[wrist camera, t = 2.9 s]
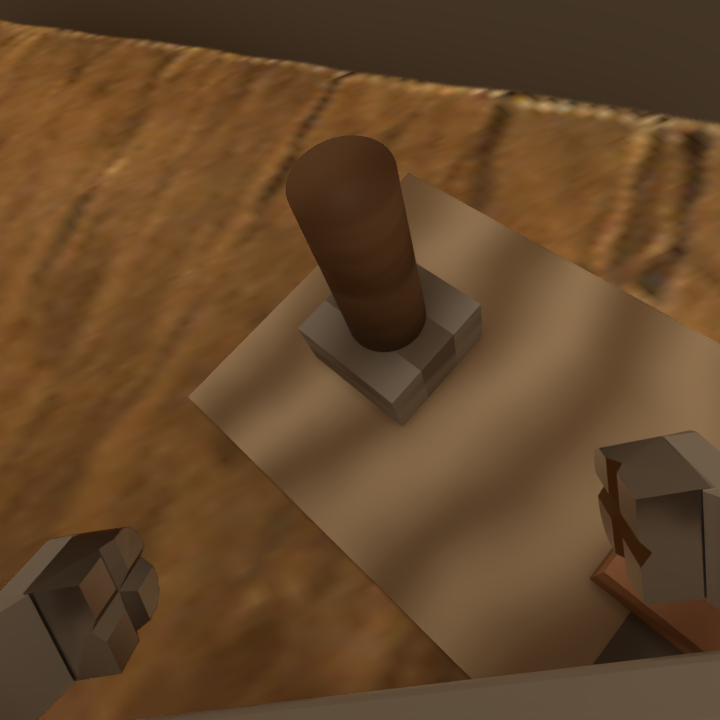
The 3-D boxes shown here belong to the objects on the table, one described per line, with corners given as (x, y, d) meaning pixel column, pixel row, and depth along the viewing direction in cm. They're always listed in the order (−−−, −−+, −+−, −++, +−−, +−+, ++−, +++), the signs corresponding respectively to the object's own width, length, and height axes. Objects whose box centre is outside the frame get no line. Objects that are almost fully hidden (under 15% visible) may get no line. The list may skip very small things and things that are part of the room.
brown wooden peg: (347, 351, 29) (263, 192, 18) (393, 302, 29) (339, 120, 19) (399, 392, 27) (342, 244, 17) (446, 339, 28) (420, 164, 17)
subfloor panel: (201, 406, 31) (156, 373, 27) (411, 190, 34) (401, 130, 30) (744, 945, 18) (820, 1041, 14) (997, 521, 22) (1118, 497, 17)
